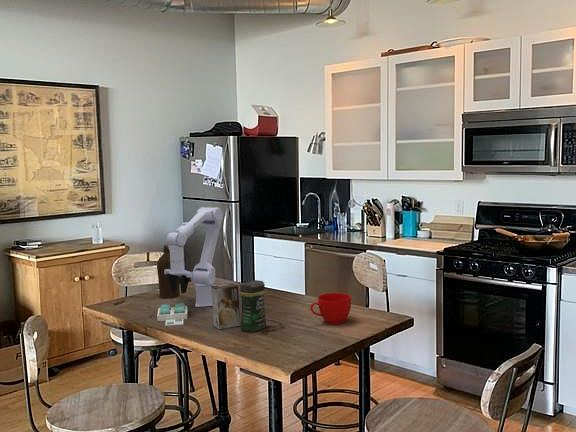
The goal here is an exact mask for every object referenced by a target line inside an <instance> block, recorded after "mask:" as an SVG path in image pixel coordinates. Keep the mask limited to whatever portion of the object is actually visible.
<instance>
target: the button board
mask: <svg viewBox="0 0 576 432" xmlns="http://www.w3.org/2000/svg"><path fill="white" fill-rule="evenodd" d="M160 309H161V307H158V310H157V315H156V316H157V317H156V319H157V322H166V320H175V319H183V320H188V306H187V305H184V313H177V314H175V306H170V310H169V312H170V314H164V315H160Z"/></svg>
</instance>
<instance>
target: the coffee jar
mask: <svg viewBox="0 0 576 432" xmlns="http://www.w3.org/2000/svg"><path fill="white" fill-rule="evenodd" d="M239 292H240V294H239V295H240V298H241V315H240V324H241V325H240V328H241V330H243V331H244V332H248V333H249V332H253V333H254V332H258V331H261V330H263V329H265V328H266V327H267V318H266V317H267V316H266V310H265V309H266V308H265V293H266V286H265V283H264V281H263V280H257V279H254V280H250V281H247V282H244V283H241V285H240V288H239Z"/></svg>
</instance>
